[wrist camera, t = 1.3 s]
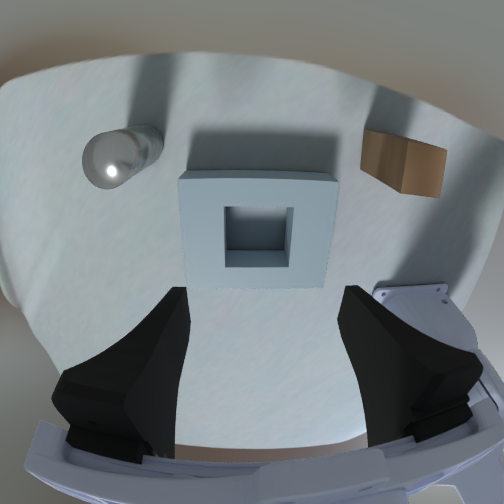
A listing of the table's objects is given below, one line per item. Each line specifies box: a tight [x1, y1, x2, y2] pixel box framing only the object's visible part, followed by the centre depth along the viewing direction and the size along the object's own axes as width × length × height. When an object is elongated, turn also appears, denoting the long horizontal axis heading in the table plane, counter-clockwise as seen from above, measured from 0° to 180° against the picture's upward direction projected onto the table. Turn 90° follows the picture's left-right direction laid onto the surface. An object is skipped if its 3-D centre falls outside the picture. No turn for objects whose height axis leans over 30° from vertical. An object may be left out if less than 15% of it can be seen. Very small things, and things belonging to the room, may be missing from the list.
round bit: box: [82, 125, 163, 189], centre depth 15 cm, size 3×3×6 cm
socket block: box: [178, 170, 339, 289], centre depth 20 cm, size 10×8×2 cm
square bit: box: [360, 130, 447, 198], centre depth 16 cm, size 3×3×6 cm
